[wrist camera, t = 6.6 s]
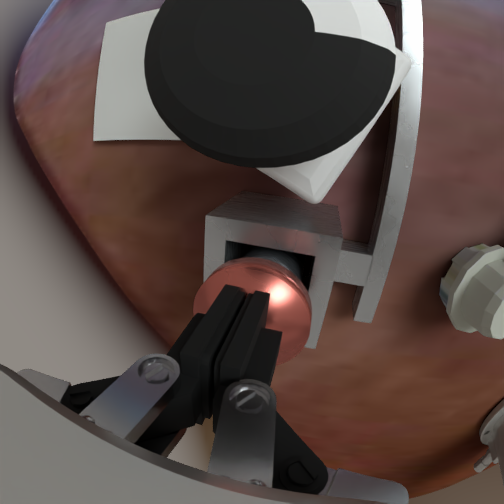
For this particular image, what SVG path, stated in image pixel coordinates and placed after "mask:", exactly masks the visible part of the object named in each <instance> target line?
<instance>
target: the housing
mask: <svg viewBox="0 0 504 504" xmlns="http://www.w3.org/2000/svg"><path fill="white" fill-rule="evenodd" d="M377 1H378V2H379V3H384V4H388V5H392V6H395V47H396V48H397V49H399V50H400V51H401V52H403V53H404V54H406V55H407V56H408V57H409V58H410V59H411V62H412V65H411V69H410V70H409V72H408V74H407V75H406V77H405V78H404V80H403V81H402V83H401V84H400V86H399V87H398V89H397V91H396V92H395V94H394V95H393V97H392V108H391V117H390V126H389V134H388V142H387V149H386V156H385V163H384V169H383V175H382V181H381V186H380V192H379V197H378V202H377V207H376V212H375V217H374V221H373V226H372V230H371V235H370V239H369V243H368V244H367V243H361V242H356V241H351V240H346V239H343V234H342V228H341V222H340V216H339V211H338V206H333V205H328V204H322V203H317V204H311V203H309V202H307V201H305V200H299V199H293V198H287V197H280V196H274V195H267V194H260V193H253V192H246V191H241V192H240V193H238V194H237V195H235V196H234V197H232V198H231V199H229V200H228V201H226V202H225V203H223V204H222V205H220V206H219V207H217V208H216V209H214V210H213V211H211V212H210V213H208V214H207V215H206V218H205V245H204V282H205V281H206V279H207V278H208V277H209V276H210V275H211V274H212V272H213V271H214V270H215V269H217V268H218V267H219V266H221V265H222V264H224V263H226V262H228V261H231V260H234V259H238V258H243V257H244V256H245V254H246V253H247V251H248V250H249V248H250V247H251V246H252V245H256V246H262V247H268V248H273V249H279V250H284V251H290V252H295V253H301V254H306V255H312V261H311V267H310V272H309V276H304V275H303V276H302V281H301V282H302V283H303V285H304V286H305V288H306V290H307V292H308V294H309V296H310V299H311V304H312V320H311V328H310V334H309V338H308V341H307V343H306V345H305V346H304V347H307V348H313V349H315V348H316V344H317V341H318V338H319V334H320V331H321V327H322V323H323V320H324V316H325V312H326V309H327V305H328V301H329V297H330V293H331V289H332V285H333V281H336V282H342V283H347V284H353V285H357V289H356V292H355V295H354V299H353V302H352V310H353V320H354V321H361V322H367V323H371V322H372V319H373V316H374V313H375V310H376V308H377V305H378V302H379V299H380V296H381V293H382V290H383V287H384V284H385V280H386V277H387V274H388V271H389V267H390V264H391V260H392V257H393V253H394V250H395V246H396V242H397V238H398V234H399V230H400V226H401V222H402V218H403V214H404V209H405V205H406V200H407V195H408V190H409V185H410V179H411V174H412V168H413V162H414V156H415V149H416V142H417V134H418V126H419V116H420V105H421V92H422V72H423V27H422V8H421V0H377Z"/></svg>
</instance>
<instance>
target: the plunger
mask: <svg viewBox="0 0 504 504" xmlns="http://www.w3.org/2000/svg"><path fill="white" fill-rule="evenodd" d="M305 260H306V254H301V253H295V252H290V251H284V250H279V249H273V248H268V247H262V246H256V245H252V246H251V247H250V248H249V250H248V251H247V253H246V254H245V256H244V257H243V258H238V259H234V260H231V261H228V262H226V263H224V264H222V265H221V266H219V267H218V268H217V269H215V270H214V271H213V272H212V274H211V275H210V276H209V277H208V278H207V279H206V281H205V282H204V283H203V284H202V286H201V287H200V288H199V290H198V292H197V294H196V296H195V300H194V304H193V314H194V316H195V314H196V313H202V314H206V313H207V311H208V310H209V308H210V307H211V305H212V304H213V302H214V301H215V299H216V298H217V296H218V295H219V293H220V292H221V290H222V289H223V287H224V286H225V284H228V285H232V286H237V287H240V288H241V291H242V292H245V300H246V298H247V296H248V294H249V293H252V294H254V292H255V290H257V291H262V292H267V293H270V300H269V307H268V313H267V320H266V327H265V328H268V329H273V330H278V331H283V333H282V339H281V344H280V348H279V353H278V357H277V362H276V365H280V364H282V363H285V362H287V361H289V360H291V359H292V358H294V357H295V356H296V355H297V354H299V353H300V352H301V350H302V349H303V348H304V346H305V345H306V343H307V341H308V338H309V334H310V328H311V320H312V304H311V299H310V296H309V294H308V292H307V290H306V288H305V286H304V285H303V283H302V282H301V281H302V276H303V271H304V266H305Z"/></svg>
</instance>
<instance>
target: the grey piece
mask: <svg viewBox="0 0 504 504" xmlns="http://www.w3.org/2000/svg"><path fill="white" fill-rule="evenodd" d="M452 262H453V263H452V265H451V267H450V269H449V271H448V272H447V274H446V276H445V278H441V285H440V293H439V295H440V297H441V299H442V301H443V303H444V305H445V307H446V312H447V314H448V316H449V318H450V320H451V322H452V325H453V326H454V327H455V328H456V329H457V330H461V331H465V332H469V333H472V332H474V331H477V330H478V331H479V332H480V333H481V334H482V335H484V336H487V337H491V338H496V339H502V338H504V248H503V247H501V246H499V245H495V246H492V247H489V246H487V245H485V244H483V243H481V244H480V245H477V246H473V247H470V248H467V247H465V248H464V249H463V250H462V251H461V252H459V253H458V254H457V255H456V256H455V257H454V258H453V259H452Z"/></svg>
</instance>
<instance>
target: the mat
mask: <svg viewBox="0 0 504 504" xmlns="http://www.w3.org/2000/svg"><path fill="white" fill-rule="evenodd" d="M158 11H159V9H155V10H151V11H147V12H142V13H138V14H135V15H131V16H127V17H124V18H120V19H117V20H114V21H110V22H107V23H106V28H105V33H104V38H103V44H102V50H101V57H100V64H99V71H98V80H97V89H96V101H95V115H94V139H93V141H100V140H181V139H179V138H178V137H177V136H176V135H175V134H174V133H173V132H172V131H171V130H170V129H169V128H168V127H167V125H166V124H165V123H164V121H163V120H162V119H161V117H160V116H159V114H158V113H157V111H156V109H155V107H154V105H153V103H152V101H151V98H150V95H149V92H148V90H147V85H146V80H145V72H144V56H145V47H146V43H147V39H148V35H149V31H150V28H151V26H152V23H153V21H154V19H155V17H156V15H157V13H158Z"/></svg>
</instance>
